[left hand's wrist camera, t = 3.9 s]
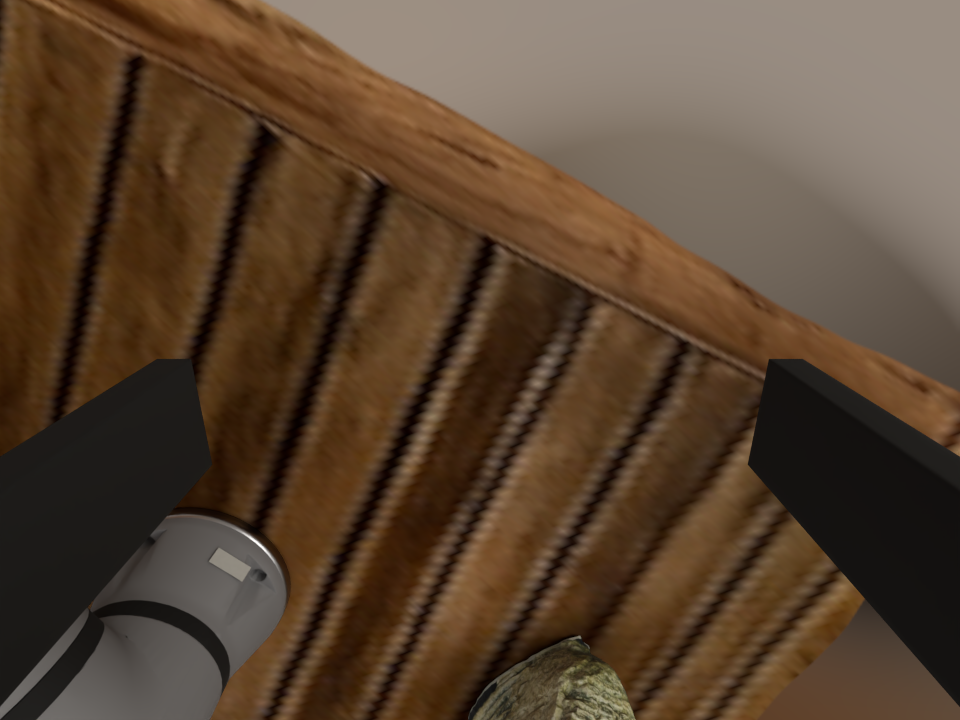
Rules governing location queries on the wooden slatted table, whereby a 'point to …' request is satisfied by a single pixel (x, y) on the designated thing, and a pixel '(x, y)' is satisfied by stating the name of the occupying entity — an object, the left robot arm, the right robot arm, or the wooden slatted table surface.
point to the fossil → (556, 688)
